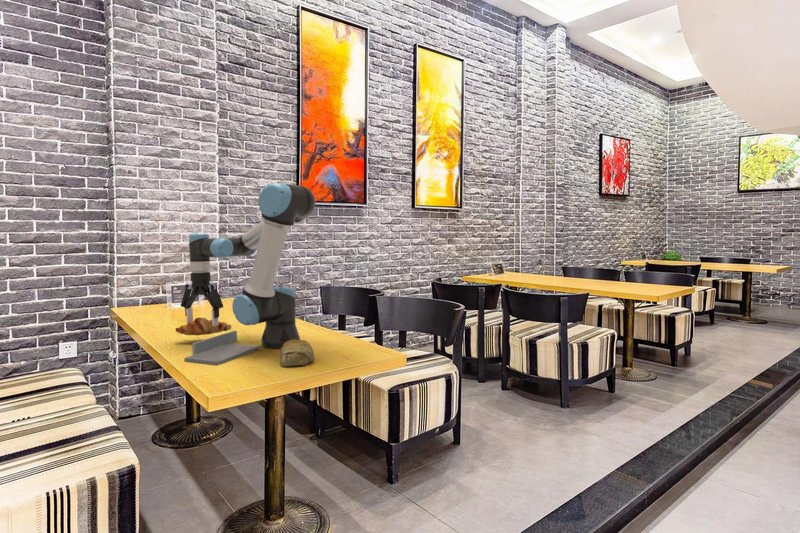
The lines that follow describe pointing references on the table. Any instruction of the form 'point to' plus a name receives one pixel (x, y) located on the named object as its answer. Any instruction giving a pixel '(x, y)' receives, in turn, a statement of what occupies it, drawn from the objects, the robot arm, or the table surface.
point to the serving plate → (222, 354)
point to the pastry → (296, 353)
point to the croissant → (202, 327)
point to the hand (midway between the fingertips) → (202, 324)
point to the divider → (214, 342)
